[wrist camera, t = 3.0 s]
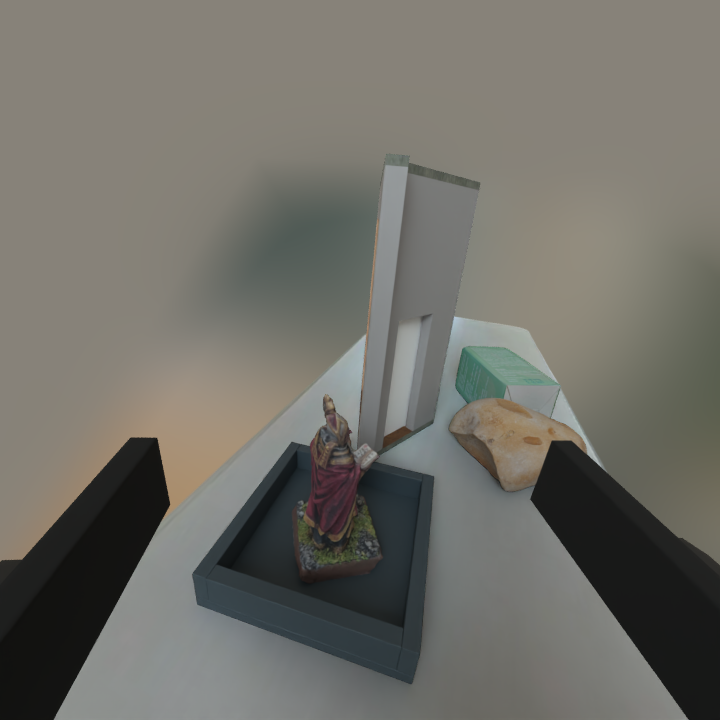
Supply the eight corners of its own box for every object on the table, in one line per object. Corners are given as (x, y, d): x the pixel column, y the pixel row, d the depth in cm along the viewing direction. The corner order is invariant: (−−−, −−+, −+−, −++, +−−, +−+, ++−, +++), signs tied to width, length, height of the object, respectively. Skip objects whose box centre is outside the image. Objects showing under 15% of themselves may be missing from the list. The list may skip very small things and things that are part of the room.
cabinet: (361, 382, 53) (380, 184, 42) (422, 388, 53) (457, 190, 42) (355, 476, 33) (386, 153, 23) (450, 484, 33) (528, 166, 23)
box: (495, 387, 55) (506, 344, 52) (545, 437, 43) (564, 385, 40) (453, 386, 54) (462, 343, 51) (492, 437, 42) (507, 384, 39)
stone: (570, 432, 40) (608, 410, 33) (558, 523, 36) (599, 520, 29) (456, 396, 43) (469, 369, 36) (434, 475, 39) (442, 462, 32)
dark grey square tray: (197, 604, 22) (191, 573, 20) (291, 465, 34) (291, 441, 33) (411, 685, 19) (420, 654, 18) (428, 500, 31) (434, 476, 30)
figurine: (295, 587, 22) (296, 442, 18) (291, 509, 28) (291, 384, 23) (386, 571, 24) (409, 433, 19) (364, 500, 30) (378, 381, 25)
